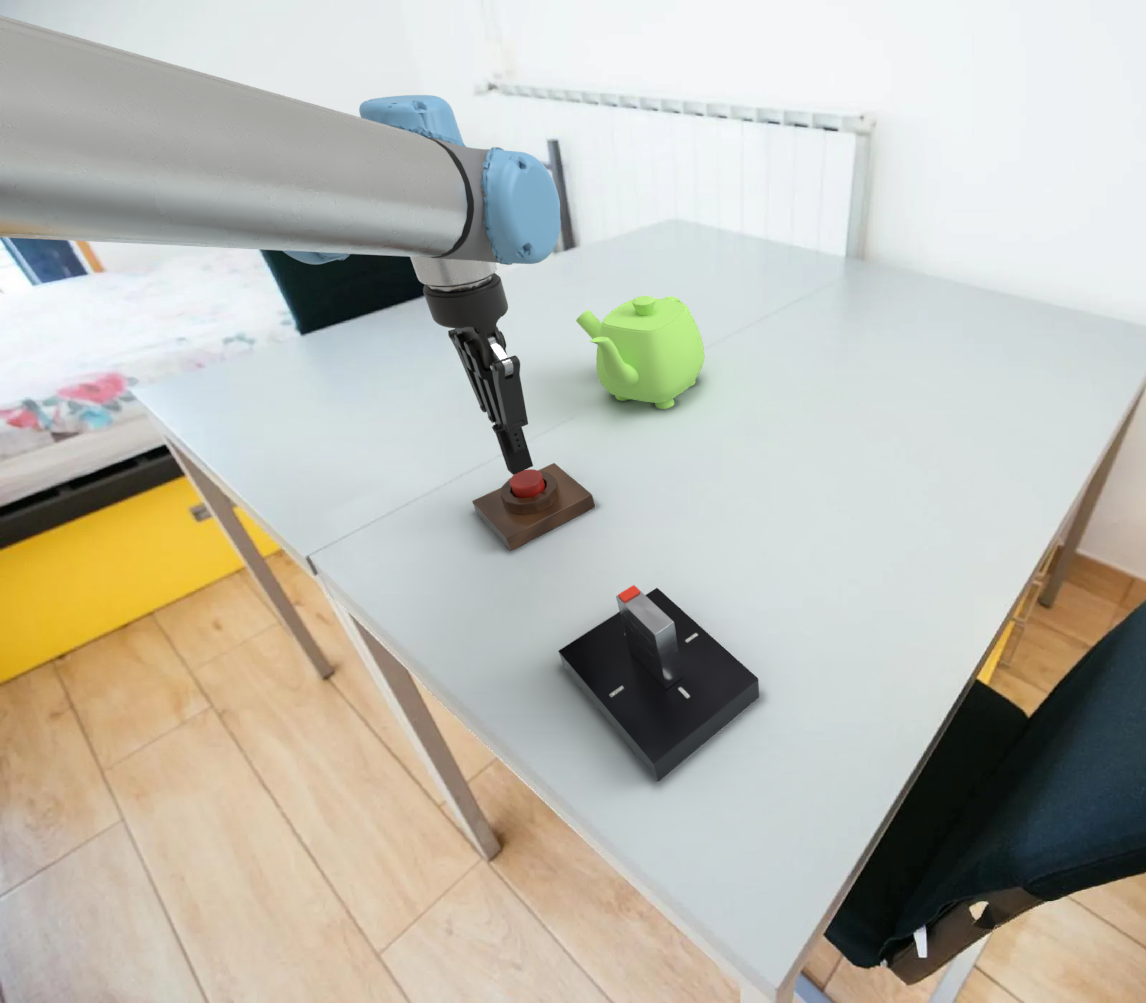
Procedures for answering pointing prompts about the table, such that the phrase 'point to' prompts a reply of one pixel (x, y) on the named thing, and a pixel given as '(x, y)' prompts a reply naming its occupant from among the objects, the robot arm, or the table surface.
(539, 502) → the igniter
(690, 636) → the panel
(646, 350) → the teapot
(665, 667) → the red-tipped metal bar
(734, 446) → the table surface
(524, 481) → the button
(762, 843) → the table surface
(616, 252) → the table surface
